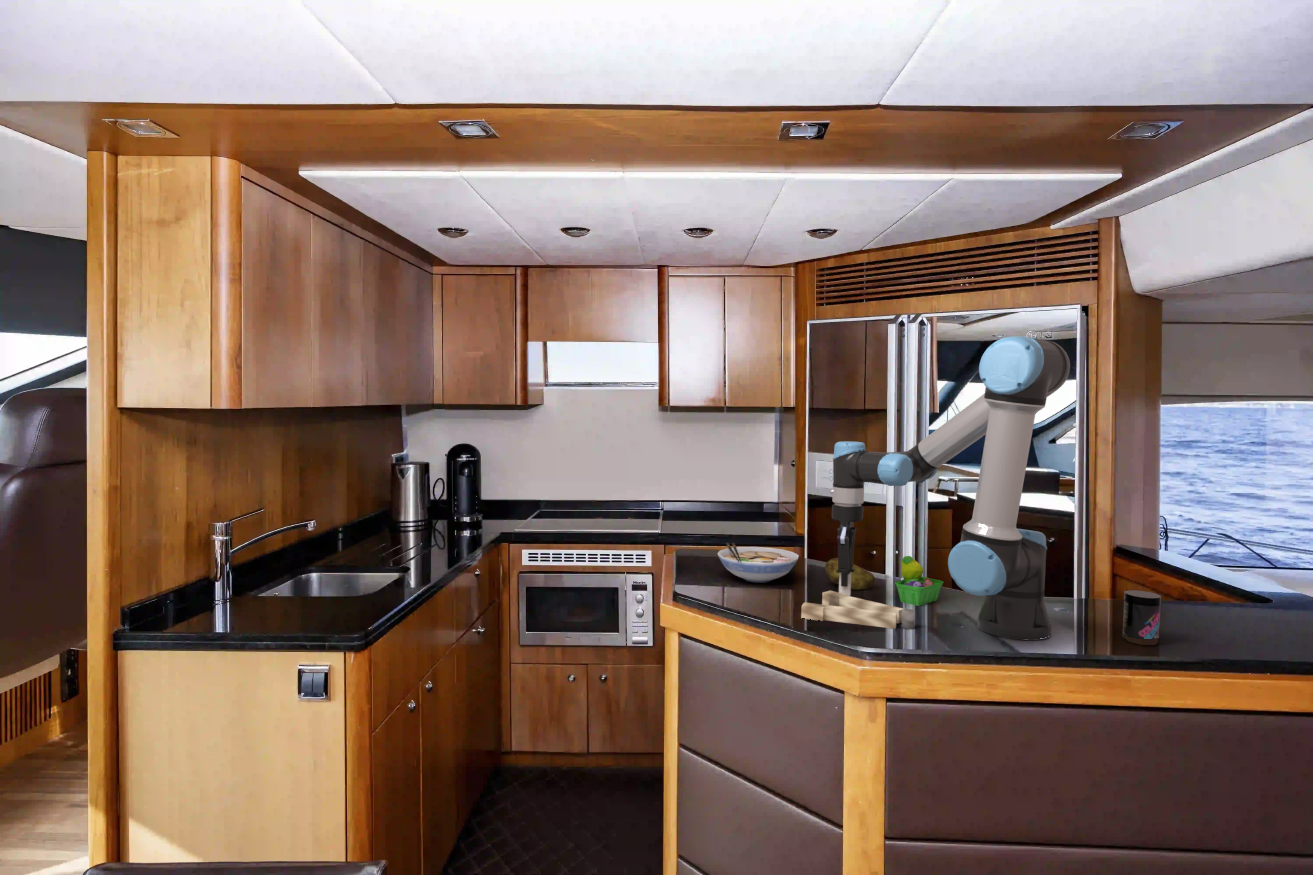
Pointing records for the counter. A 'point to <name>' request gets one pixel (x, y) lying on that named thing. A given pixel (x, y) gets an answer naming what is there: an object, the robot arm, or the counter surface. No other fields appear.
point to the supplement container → (1141, 614)
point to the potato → (858, 577)
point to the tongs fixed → (857, 616)
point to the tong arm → (858, 603)
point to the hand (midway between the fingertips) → (844, 598)
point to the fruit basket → (916, 584)
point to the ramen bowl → (757, 562)
